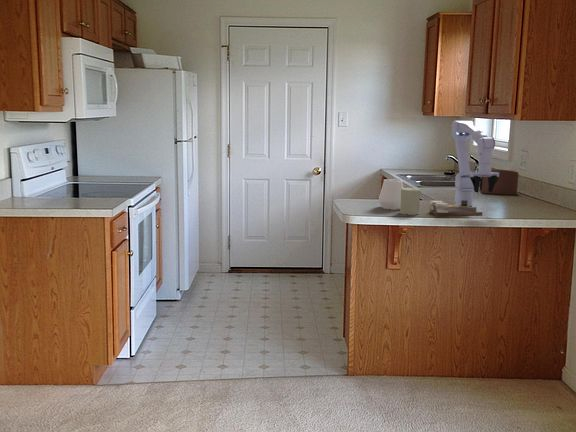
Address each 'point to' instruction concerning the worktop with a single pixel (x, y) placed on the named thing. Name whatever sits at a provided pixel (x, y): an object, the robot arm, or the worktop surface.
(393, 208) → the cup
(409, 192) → the beige upright block
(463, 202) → the bolt
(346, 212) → the worktop surface
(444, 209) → the door board
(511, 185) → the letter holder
